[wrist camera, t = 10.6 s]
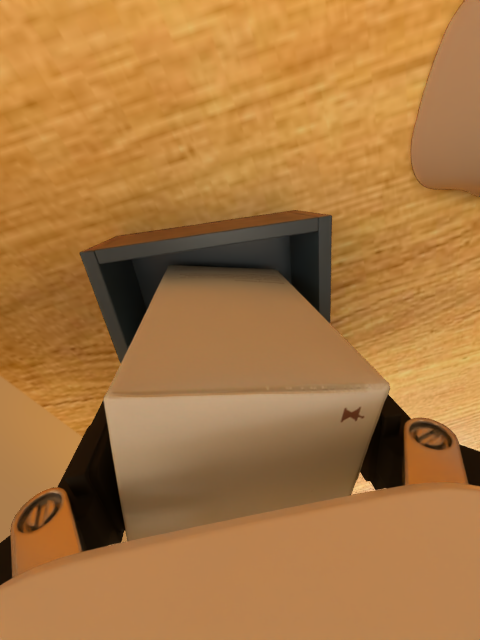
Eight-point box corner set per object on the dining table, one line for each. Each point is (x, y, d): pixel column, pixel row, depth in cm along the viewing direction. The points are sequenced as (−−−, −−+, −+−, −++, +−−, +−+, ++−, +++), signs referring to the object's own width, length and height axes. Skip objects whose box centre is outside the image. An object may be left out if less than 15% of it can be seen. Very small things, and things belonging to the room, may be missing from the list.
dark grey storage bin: (161, 383, 24) (148, 439, 18) (116, 236, 18) (78, 252, 13) (301, 359, 24) (329, 406, 19) (295, 210, 19) (332, 215, 14)
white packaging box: (166, 261, 17) (93, 388, 6) (279, 268, 18) (407, 385, 7) (168, 361, 20) (124, 575, 9) (266, 361, 21) (340, 552, 10)
